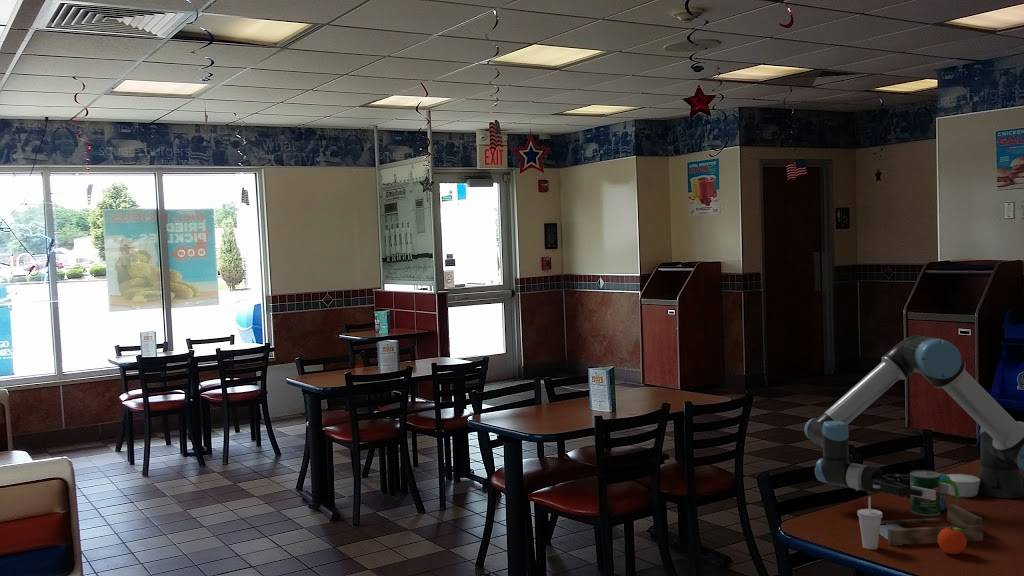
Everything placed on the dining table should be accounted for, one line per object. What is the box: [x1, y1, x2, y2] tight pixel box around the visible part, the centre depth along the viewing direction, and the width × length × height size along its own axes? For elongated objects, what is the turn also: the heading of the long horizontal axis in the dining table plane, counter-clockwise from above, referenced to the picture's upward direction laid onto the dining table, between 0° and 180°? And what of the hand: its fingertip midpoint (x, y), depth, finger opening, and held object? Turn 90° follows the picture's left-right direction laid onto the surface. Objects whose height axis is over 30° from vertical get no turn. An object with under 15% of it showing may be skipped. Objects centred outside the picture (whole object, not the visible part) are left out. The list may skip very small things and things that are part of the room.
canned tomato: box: [909, 469, 942, 517], centre depth 255 cm, size 8×8×11 cm
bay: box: [858, 503, 984, 546], centre depth 254 cm, size 28×18×5 cm, turn 95°
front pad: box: [879, 524, 904, 541], centre depth 254 cm, size 9×14×1 cm, turn 5°
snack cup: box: [938, 472, 960, 511], centre depth 277 cm, size 16×10×10 cm
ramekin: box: [946, 473, 980, 498], centre depth 292 cm, size 11×11×5 cm
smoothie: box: [857, 496, 884, 550], centre depth 243 cm, size 6×6×14 cm
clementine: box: [937, 527, 968, 555], centre depth 236 cm, size 8×7×7 cm
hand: (942, 492), depth 252 cm, fingers closed on canned tomato, 8 cm apart
